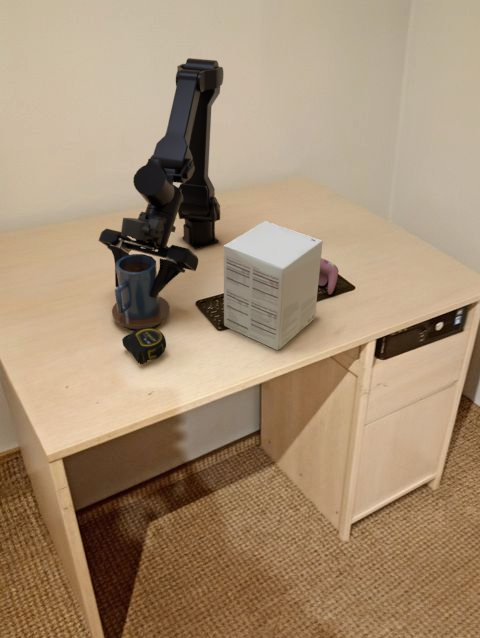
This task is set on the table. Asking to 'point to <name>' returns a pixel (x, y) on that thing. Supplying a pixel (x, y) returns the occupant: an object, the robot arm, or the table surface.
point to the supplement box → (271, 283)
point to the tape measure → (145, 344)
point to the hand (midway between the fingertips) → (134, 292)
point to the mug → (138, 293)
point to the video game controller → (328, 275)
